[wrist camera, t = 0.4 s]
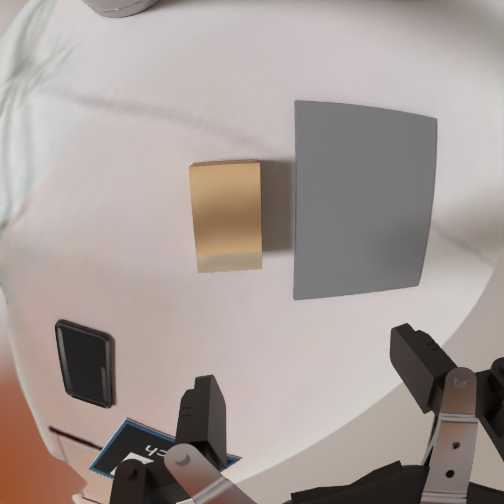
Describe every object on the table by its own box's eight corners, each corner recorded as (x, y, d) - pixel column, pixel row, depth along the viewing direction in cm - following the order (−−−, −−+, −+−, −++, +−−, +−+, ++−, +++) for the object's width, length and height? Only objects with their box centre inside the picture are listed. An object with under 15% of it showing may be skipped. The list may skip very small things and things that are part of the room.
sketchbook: (239, 454, 45) (240, 463, 43) (171, 494, 52) (171, 500, 50) (126, 414, 38) (124, 424, 36) (89, 465, 46) (87, 472, 44)
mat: (294, 101, 24) (296, 100, 24) (433, 118, 25) (436, 118, 25) (293, 297, 32) (294, 300, 31) (415, 283, 33) (418, 286, 32)
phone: (66, 394, 35) (53, 320, 30) (68, 390, 36) (57, 315, 31) (112, 410, 36) (109, 338, 31) (114, 404, 37) (112, 333, 32)
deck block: (194, 162, 26) (188, 167, 22) (254, 159, 26) (260, 163, 22) (201, 255, 29) (198, 272, 25) (257, 251, 30) (262, 268, 26)
